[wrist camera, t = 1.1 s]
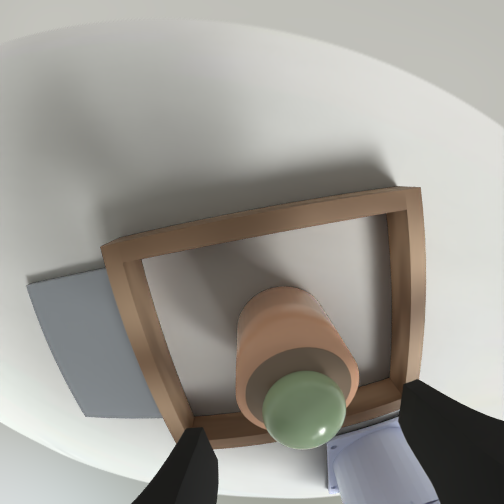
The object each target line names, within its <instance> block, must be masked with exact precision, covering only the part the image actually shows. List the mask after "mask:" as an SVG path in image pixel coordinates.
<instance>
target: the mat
mask: <svg viewBox="0 0 504 504" xmlns="http://www.w3.org/2000/svg"><path fill="white" fill-rule="evenodd" d="M27 290H28V293H29V296H30V299H31V302H32V304H33V307H34V310H35V313H36V315H37V318H38V321H39V323H40V326H41V328H42V331H43V333H44V336H45V338H46V341H47V343H48V345H49V348H50V350H51V352H52V354H53V356H54V359H55V361H56V363H57V365H58V367H59V369H60V371H61V373H62V375H63V377H64V379H65V381H66V383H67V385H68V387H69V389H70V391H71V392H72V394H73V396H74V398H75V400H76V401H77V403H78V405H79V407H80V408H81V410H82V412H83V413H84V415H85V417H101V418H163V417H162V415H161V413H160V411H159V409H158V407H157V404H156V402H155V400H154V398H153V396H152V394H151V391H150V389H149V387H148V385H147V382H146V380H145V378H144V375H143V373H142V371H141V368H140V366H139V363H138V361H137V358H136V356H135V353H134V351H133V348H132V346H131V343H130V340H129V338H128V335H127V332H126V330H125V327H124V324H123V321H122V318H121V315H120V312H119V309H118V306H117V303H116V300H115V297H114V294H113V291H112V287H111V284H110V281H109V277H108V274H107V270H106V268H101V269H96V270H92V271H87V272H82V273H77V274H73V275H68V276H63V277H58V278H54V279H49V280H44V281H40V282H35V283H30V284H29V285H27Z"/></svg>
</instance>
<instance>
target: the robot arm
mask: <svg viewBox="0 0 504 504" xmlns="http://www.w3.org/2000/svg"><path fill="white" fill-rule="evenodd" d="M327 465H328V491H329V494H335V493H339V492H340V495H341V498H342V502H343V504H504V421H502V420H499V419H496V418H493V417H490V416H487V415H485V414H483V413H480V412H478V411H476V410H473V409H471V408H469V407H467V406H465V405H463V404H461V403H459V402H457V401H455V400H453V399H452V398H450V397H448V396H446V395H444V394H443V393H441V392H439V391H437V390H436V389H434V388H432V387H431V386H429V385H427V384H425V383H424V382H422V381H420V380H418V379H416V380H413V381H411V382H408V383H405V384H403V390H402V397H401V405H400V411H399V417H396V418H393V419H391V420H388V421H385V422H382V423H379V424H376V425H373V426H370V427H367V428H363V429H360V430H357V431H353V432H350V433H346V434H342V435H339V436H335V437H333V438H332V439H331V440H330V441H328V442H327ZM217 493H218V459H217V457H216V455H215V453H214V451H213V449H212V446H211V444H210V442H209V440H208V438H207V435H206V433H205V431H204V428H203V427H198V428H186V429H185V430H184V432H183V434H182V435H181V437H180V439H179V440H178V442H177V444H176V445H175V447H174V449H173V450H172V452H171V453H170V455H169V457H168V458H167V460H166V461H165V462H164V464H163V465H162V467H161V468H160V470H159V471H158V473H157V474H156V475H155V477H154V478H153V479H152V480H151V482H150V483H149V485H148V486H147V487H146V488H145V489H144V490H143V492H142V493H141V494H140V495H139V496H138V497H137V498H136V499H135V500H134V501H133V502H132V503H131V504H216V502H217Z"/></svg>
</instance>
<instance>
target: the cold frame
mask: <svg viewBox="0 0 504 504" xmlns="http://www.w3.org/2000/svg"><path fill="white" fill-rule="evenodd" d="M384 213H386V216H387V226H388V237H389V250H390V266H391V291H392V338H391V363H390V378H387V379H384V380H381V381H378V382H375V383H371V384H368V385H365V386H361V387H358V388H357V391H356V394H355V396H354V398H353V399H352V401H351V403H350V404H349V405H348V407H347V408H346V416H345V420H344V423H343V425H342V427H346V426H350V425H353V424H357V423H360V422H363V421H367V420H370V419H373V418H376V417H379V416H382V415H385V414H388V413H391V412H394V411H396V410H399V409H400V405H401V397H402V390H403V384H405V383H408V382H411V381H413V380H416V379H418V380H419V374H420V366H421V358H422V348H423V337H424V323H425V302H426V252H425V231H424V217H423V206H422V196H421V187H403V186H396V187H389V188H381V189H374V190H367V191H360V192H354V193H347V194H341V195H334V196H328V197H322V198H316V199H310V200H304V201H298V202H292V203H286V204H281V205H275V206H269V207H264V208H259V209H253V210H248V211H243V212H237V213H232V214H227V215H222V216H217V217H212V218H207V219H202V220H197V221H193V222H188V223H183V224H178V225H174V226H169V227H164V228H160V229H155V230H151V231H146V232H142V233H138V234H133V235H129V236H125V237H121V238H118V239H116V240H113V241H111V242H109V243H107V244H105V245H103V246H101V247H100V248H101V252H102V256H103V259H104V263H105V267H106V270H107V274H108V277H109V281H110V284H111V287H112V291H113V294H114V297H115V300H116V303H117V306H118V309H119V312H120V315H121V318H122V321H123V324H124V327H125V330H126V332H127V335H128V338H129V340H130V343H131V346H132V348H133V351H134V353H135V356H136V358H137V361H138V363H139V366H140V368H141V371H142V373H143V375H144V378H145V380H146V382H147V385H148V387H149V389H150V391H151V394H152V396H153V398H154V400H155V402H156V404H157V407H158V409H159V411H160V413H161V415H162V417H163V419H164V421H165V423H166V425H167V427H168V429H169V431H170V433H171V435H172V437H173V438H174V440H175V442H176V444H177V442H178V440H179V439H180V437H181V435H182V434H183V432H184V430H185V429H186V428H198V427H203V428H204V431H205V433H206V435H207V438H208V440H209V442H210V444H211V446H212V449H224V448H234V447H243V446H252V445H259V444H266V443H272V442H277V441H276V440H275V439H274V438H273V437H272V436H271V435H270V434H269V433H268V431H267V430H266V429H263V428H261V427H259V426H257V425H255V424H254V423H252V422H251V421H249V420H248V419H247V418H246V417H245V416H244V415H243V413H242V412H236V413H228V414H219V415H208V416H197V417H194V415H193V412H192V410H191V408H190V405H189V403H188V400H187V398H186V395H185V393H184V390H183V388H182V385H181V383H180V380H179V377H178V375H177V372H176V369H175V367H174V364H173V361H172V358H171V356H170V353H169V350H168V347H167V344H166V341H165V338H164V335H163V332H162V329H161V326H160V323H159V320H158V317H157V313H156V310H155V307H154V304H153V300H152V297H151V294H150V290H149V287H148V283H147V280H146V276H145V272H144V268H143V265H142V261H141V259H144V258H149V257H154V256H159V255H164V254H169V253H174V252H179V251H184V250H189V249H194V248H199V247H205V246H210V245H215V244H220V243H225V242H230V241H236V240H241V239H246V238H251V237H257V236H262V235H267V234H273V233H278V232H284V231H289V230H294V229H300V228H305V227H311V226H316V225H322V224H327V223H333V222H339V221H344V220H350V219H356V218H361V217H367V216H373V215H379V214H384ZM342 427H341V428H342Z"/></svg>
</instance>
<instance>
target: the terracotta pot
mask: <svg viewBox="0 0 504 504" xmlns="http://www.w3.org/2000/svg"><path fill="white" fill-rule="evenodd" d="M358 384H359V370H358V366H357V364H356V361H355V359H354V358H353V356H352V355H351V353H350V351H349V350H348V348H347V346H346V345H345V343H344V342H343V340H342V338H341V337H340V335H339V334H338V332H337V330H336V329H335V327H334V326H333V324H332V322H331V321H330V319H329V318H328V316H327V314H326V313H325V311H324V310H323V308H322V306H321V305H320V303H319V302H318V301H317V300H316V299H315V298H314V297H313V296H312V295H311V294H309V293H308V292H306V291H304V290H302V289H299V288H295V287H289V286H280V287H274V288H270V289H267V290H265V291H262V292H261V293H259V294H257V295H256V296H254V297H253V298H252V299H251V300H250V301H249V302H248V303H247V304H246V305H245V307H244V308H243V310H242V312H241V314H240V316H239V319H238V325H237V355H236V400H237V404H238V406H239V409H240V410H241V412H242V413H243V415H244V416H245V417H246V418H247V419H248V420H249V421H251V422H252V423H254V424H255V425H257V426H259V427H261V428H263V429H266V430H267V431H268V433H269V434H270V435H271V436H272V437H273V438H274V439H275V440H276V441H277V442H279V443H280V444H282V445H284V446H286V447H289V448H292V449H299V450H306V449H312V448H316V447H319V446H321V445H323V444H325V443H327V442H328V441H330V440H331V439H332V438H333V437H334V436H335V435H336V434H337V433H338V431H339V430H340V429H341V427H342V425H343V423H344V420H345V416H346V408H347V407H348V405H349V404H350V403H351V401H352V399H353V398H354V396H355V394H356V391H357V388H358Z"/></svg>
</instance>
